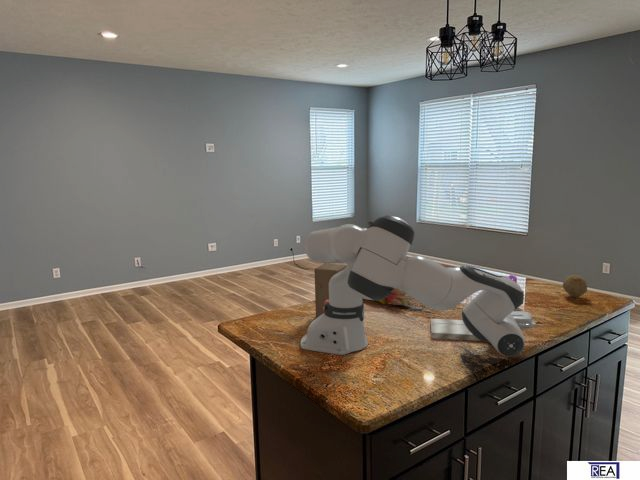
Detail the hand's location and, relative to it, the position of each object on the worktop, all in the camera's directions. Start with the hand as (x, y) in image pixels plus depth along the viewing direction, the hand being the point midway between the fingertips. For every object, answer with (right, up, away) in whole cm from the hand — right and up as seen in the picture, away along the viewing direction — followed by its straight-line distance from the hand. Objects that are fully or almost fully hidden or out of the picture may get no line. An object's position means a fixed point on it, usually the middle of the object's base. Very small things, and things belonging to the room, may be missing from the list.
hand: (493, 310), depth 149 cm
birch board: (-7, -9, +7) cm, 13 cm away
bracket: (+27, +1, +60) cm, 66 cm away
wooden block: (-53, -7, +29) cm, 61 cm away
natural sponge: (+51, -1, +43) cm, 67 cm away
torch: (-30, -4, +43) cm, 53 cm away
